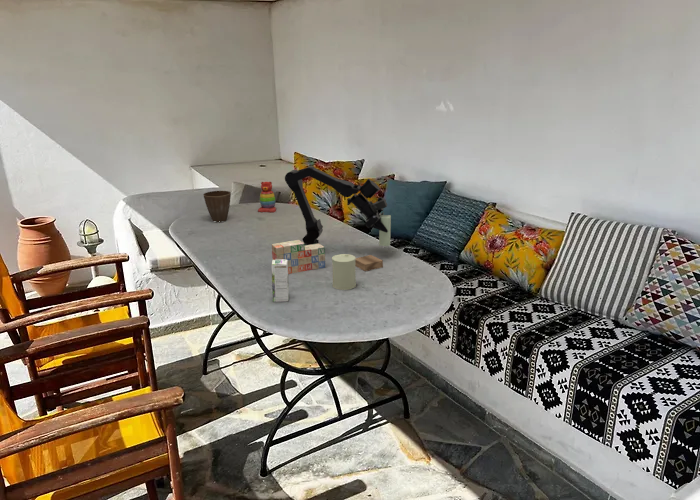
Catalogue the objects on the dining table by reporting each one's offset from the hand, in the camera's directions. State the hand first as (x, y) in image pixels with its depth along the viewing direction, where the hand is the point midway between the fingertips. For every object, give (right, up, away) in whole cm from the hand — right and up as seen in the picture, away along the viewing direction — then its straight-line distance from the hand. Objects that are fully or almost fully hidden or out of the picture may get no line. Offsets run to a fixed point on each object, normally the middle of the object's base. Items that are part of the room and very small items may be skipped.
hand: (388, 230), depth 234 cm
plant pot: (-91, +8, +68) cm, 114 cm away
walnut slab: (-9, -16, -7) cm, 19 cm away
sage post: (-1, -6, +2) cm, 7 cm away
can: (-19, -23, -28) cm, 41 cm away
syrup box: (-42, -27, -39) cm, 63 cm away
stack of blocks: (-38, -17, -9) cm, 43 cm away
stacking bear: (-67, +15, +90) cm, 113 cm away
